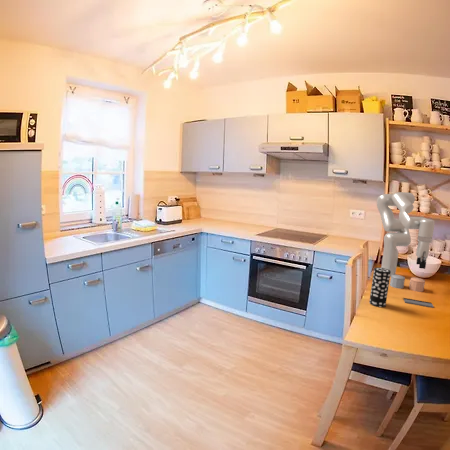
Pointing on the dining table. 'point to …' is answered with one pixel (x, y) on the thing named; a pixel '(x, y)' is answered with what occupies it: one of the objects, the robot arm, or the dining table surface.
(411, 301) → the mat
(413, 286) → the peach rounded capsule
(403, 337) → the dining table surface
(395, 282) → the grey cup
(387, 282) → the spotted tube
